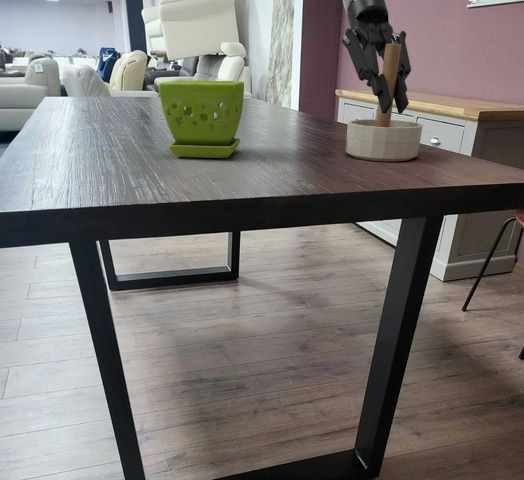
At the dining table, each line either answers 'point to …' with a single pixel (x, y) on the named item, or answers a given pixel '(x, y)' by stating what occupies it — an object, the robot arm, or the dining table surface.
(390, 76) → the muddler
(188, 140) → the flower pot
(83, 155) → the dining table surface
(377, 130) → the bowl
